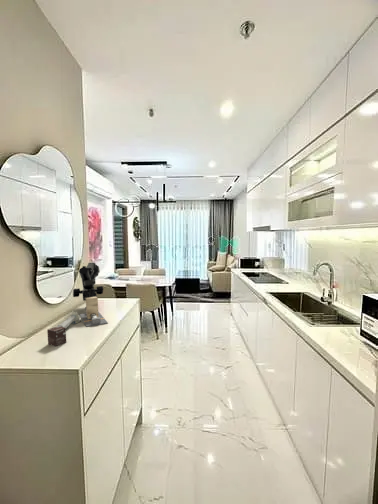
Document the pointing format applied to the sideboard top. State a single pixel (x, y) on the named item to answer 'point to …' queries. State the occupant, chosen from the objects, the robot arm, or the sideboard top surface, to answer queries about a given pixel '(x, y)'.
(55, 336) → the box
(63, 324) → the grey flashlight
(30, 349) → the sideboard top surface
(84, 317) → the grey board
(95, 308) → the notched wooden block
